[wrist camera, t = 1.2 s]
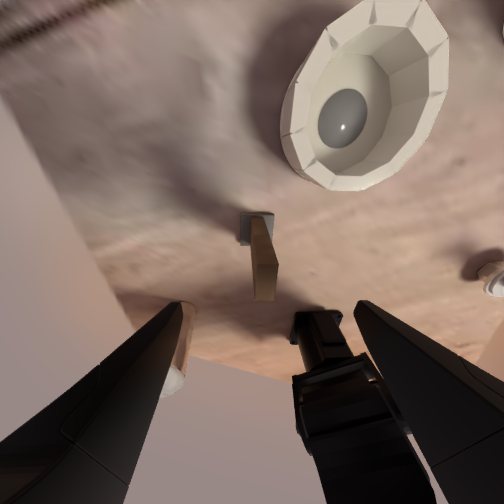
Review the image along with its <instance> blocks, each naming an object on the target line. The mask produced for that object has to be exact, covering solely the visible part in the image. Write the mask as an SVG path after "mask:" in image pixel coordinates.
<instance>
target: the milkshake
mask: <svg viewBox="0 0 504 504" xmlns="http://www.w3.org/2000/svg"><path fill="white" fill-rule="evenodd" d="M181 305H182V309H183V321H182V325H181V330H180V334H179V338H178V343H177V347H176V350H175V354H174V357H173V359H172V362H171V365H170V368H169V371H168V374H167V377H166V380H165V383H164V386H163V389H162V391H161V394H160V397H159V399H161V398H166V397H168V396H171V395H172V394H174V393H176V392H177V391H178V390H179V389H180V388H181V387H182V386H183V384H184V379H185V373H186V366H187V361H188V355H189V349H190V344H191V339H192V334H193V329H194V323H195V318H196V313H197V311H196V309H195V307H194V306H193V305H192V304H190V303H188V302H181Z"/></svg>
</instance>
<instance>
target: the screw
mask: <svg viewBox="0 0 504 504" xmlns="http://www.w3.org/2000/svg"><path fill="white" fill-rule="evenodd" d="M477 273H478V277H479V279H480V280H482V281H484V282H485V284H484V287H483V290H484V292H485V293H486V294H488V295H490V296H494V297H495V296H504V262H501V261H497V262H491V263H487V264H486V265H485V266H484V267H482V268H481V269H480V270H479V271H478V272H477Z"/></svg>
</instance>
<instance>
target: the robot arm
mask: <svg viewBox="0 0 504 504" xmlns="http://www.w3.org/2000/svg"><path fill="white" fill-rule="evenodd" d="M353 314H354V318H355V320H356V322H357V325H358V327H359V330H360V332H361V335H362V337H363V340H364V342H365V344H366V346H367V348H368V350H369V352H370V354H371V356H372V358H373V360H374V362H375V364H376V366H377V367H378V369H379V371H380V373H381V375H382V376H381V375H380V373H379V372H378V370H377V369H376V367H375V366H374V364H373V363H372V361H371V360H370V358H369V357H368V355H367V354H366V352H364V353H361V355H358V356H355V357H354V355H353V353H352V351H351V350H350V348H349V346H348V344H347V342H346V339H345V337H344V335H343V333H342V332H341V330H340V328H339V325H340V322H341V320H342V317H343V314H342V313H341V312H297V313H296V314H295V316H294V321H293V326H292V330H291V335H290V340H289V341H290V344H291V345H299V348H300V352H301V355H302V359H303V362H304V366H305V369H306V372H305V373H302V374H299V375H293V376H292V381H293V384H292V389H293V398H294V408H295V417H296V430H297V433H298V434H299V435H300V436H301V438H302V441H303V443H304V446H305V448H306V450H307V452H308V453H309V455H310V456H313V458H314V461H315V464H316V467H317V470H318V473H319V477H320V480H321V484H322V488H323V491H324V495H325V499H326V502H327V504H437V503H436V498H435V493H434V490H433V488H432V486H431V483H430V478H429V476H428V474H427V472H426V470H425V468H424V466H423V464H422V463H421V461H420V459H419V457H418V455H417V453H416V452H415V450H414V448H413V446H412V444H411V442H410V441H409V439H408V437H407V435H409V434H413V436H414V438H415V440H416V442H417V444H418V446H419V448H420V450H421V452H422V453H423V455H424V457H425V459H426V461H427V463H428V465H429V466H430V469H431V471H432V473H433V475H434V477H435V479H436V480H437V482H438V484H439V486H440V488H441V490H442V492H443V494H444V496H445V498H446V500H447V501H448V503H449V504H504V382H503V381H501V380H499V379H498V378H496V377H494V376H492V375H490V374H489V373H487V372H485V371H484V370H482V369H480V368H479V367H477V366H475V365H474V364H472V363H470V362H469V361H467V360H465V359H464V358H462V357H460V356H458V355H457V354H455V353H454V352H452V351H451V350H449V349H447V348H446V347H444V346H442V345H441V344H439V343H437V342H436V341H434V340H432V339H431V338H429V337H427V336H426V335H424V334H422V333H421V332H419V331H418V330H416V329H414V328H413V327H411V326H409V325H408V324H406V323H404V322H403V321H401V320H399V319H398V318H396V317H394V316H393V315H391V314H389V313H388V312H386V311H384V310H383V309H381V308H380V307H378V306H376V305H375V304H373V303H371V302H370V301H368V300H359V301H358V302H357V305H356V307H355V309H354V312H353ZM182 321H183V309H182V305H181V302H179V301H175V302H171V303H169V304H168V305H167V306H166V307H165V308H163V309H162V310H161V311H160V312H159V313H158V314H156V315H155V316H154V317H153V318H152V319H151V320H149V321H148V322H147V323H146V324H145V325H144V326H142V327H141V328H140V329H139V330H138V331H137V332H135V333H134V334H133V335H132V336H131V337H130V338H129V339H127V340H126V341H125V342H124V343H123V344H122V345H120V346H119V347H118V348H117V349H116V350H115V351H114V352H112V353H111V354H110V355H109V356H108V357H106V358H105V359H104V360H103V361H102V362H101V363H100V365H97V366H96V367H95V368H93V369H92V370H91V371H90V372H89V373H88V374H86V375H85V376H84V377H83V378H82V379H80V380H79V381H78V382H77V383H76V384H74V385H73V386H72V387H71V388H70V389H68V390H67V391H66V392H64V393H63V394H62V395H61V396H60V397H58V398H57V399H56V400H54V401H53V402H52V403H50V404H49V405H48V406H47V407H45V408H44V409H43V410H41V411H40V412H39V413H38V414H36V415H35V416H33V417H32V418H31V419H30V420H29V421H27V422H26V423H24V424H23V425H22V426H20V427H19V428H18V429H17V430H15V431H14V432H13V433H11V434H10V435H9V436H7V437H6V438H5V439H4V440H2V441H1V442H0V504H123V502H124V499H125V496H126V493H127V491H128V488H129V486H128V485H129V484H130V482H131V479H132V476H133V473H134V470H135V467H136V464H137V461H138V458H139V455H140V452H141V450H142V447H143V444H144V441H145V438H146V435H147V432H148V429H149V426H150V423H151V420H152V418H153V415H154V412H155V409H156V406H157V403H158V400H159V397H160V394H161V391H162V389H163V386H164V383H165V380H166V377H167V374H168V371H169V368H170V365H171V362H172V359H173V357H174V354H175V350H176V347H177V343H178V338H179V334H180V330H181V325H182ZM382 377H383V378H382ZM369 379H372V380H373V381H370V382H369V381H368V380H369Z"/></svg>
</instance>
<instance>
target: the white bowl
mask: <svg viewBox="0 0 504 504" xmlns="http://www.w3.org/2000/svg"><path fill="white" fill-rule="evenodd" d="M447 37H448V34H447V33H446V31H445V30H444V28H443V27H442V25H441V24H440V22H439V21H438V19H437V18H436V16H435V15H434V13H433V12H432V10H431V9H430V7H429V6H428V4H427V3H426V1H425V0H364V1H362V2H361V3H359V4H358V5H356V6H355V7H354V8H352V9H351V10H349V11H348V12H347V13H345V14H344V15H342V16H341V17H340V18H338V19H337V20H335V21H334V22H332V23H331V24H330V25H328V26H327V27H326V28H325V29H324V31H323V32H322V34H321V35H320V37H319V38H318V40H317V41H316V43H315V44H314V46H313V47H312V49H311V50H310V52H309V53H308V55H307V56H306V58H305V60H304V62H303V63H302V64H301V66H300V67H299V69H298V70H297V72H296V73H295V75H294V77H293V78H292V80H291V82H290V84H289V86H288V89H287V91H286V94H285V97H284V100H283V104H282V108H281V114H280V128H279V129H280V140H281V145H282V149H283V152H284V155H285V157H286V159H287V161H288V163H289V164H290V166H291V167H292V168H293V169H294V171H295V172H296V173H297V174H299V175H300V176H301V177H303V178H304V179H306V180H308V181H310V182H312V183H314V184H316V185H318V186H320V187H323V188H325V189H327V190H335V191H360V190H361V191H362V190H364V189H366V188H368V187H370V186H372V185H374V184H376V183H378V182H380V181H382V180H384V179H386V178H388V177H390V176H392V175H394V173H397V171H398V170H399V169H400V168H401V167H402V166H403V165H404V164H405V163H406V162H407V161H408V159H409V158H410V157H411V156H412V155H413V154H414V153H415V152H416V151H417V150H418V149H419V147H420V146H421V145H422V144H423V143H424V142H425V141H426V140H425V139H427V138H428V135H429V133H430V131H431V128H432V126H433V124H434V121H435V119H436V117H437V115H438V112H439V110H440V108H441V105H442V103H443V101H444V98H445V96H446V94H447V92H444V91H446V90H448V61H449V38H448V39H446V38H447Z"/></svg>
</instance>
